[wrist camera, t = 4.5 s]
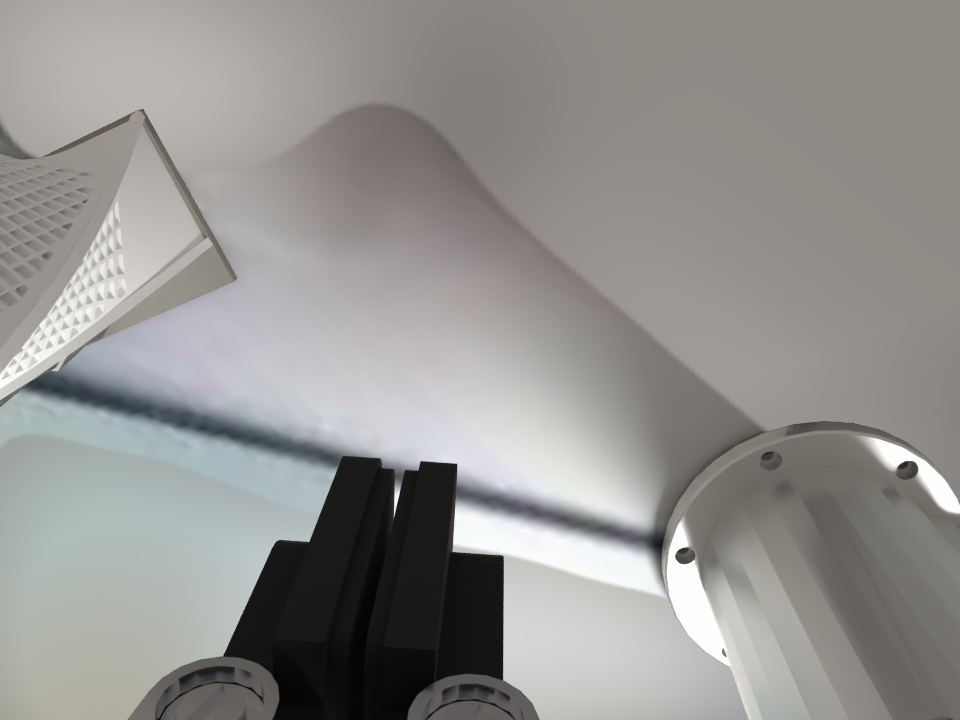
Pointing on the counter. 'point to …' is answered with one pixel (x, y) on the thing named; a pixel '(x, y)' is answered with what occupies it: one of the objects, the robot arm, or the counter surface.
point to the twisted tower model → (95, 247)
